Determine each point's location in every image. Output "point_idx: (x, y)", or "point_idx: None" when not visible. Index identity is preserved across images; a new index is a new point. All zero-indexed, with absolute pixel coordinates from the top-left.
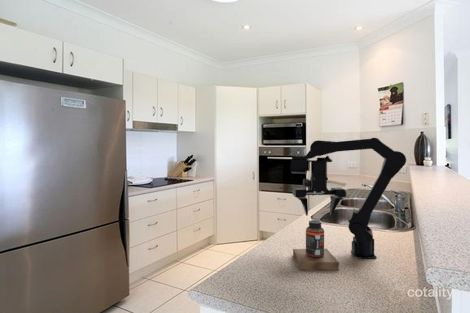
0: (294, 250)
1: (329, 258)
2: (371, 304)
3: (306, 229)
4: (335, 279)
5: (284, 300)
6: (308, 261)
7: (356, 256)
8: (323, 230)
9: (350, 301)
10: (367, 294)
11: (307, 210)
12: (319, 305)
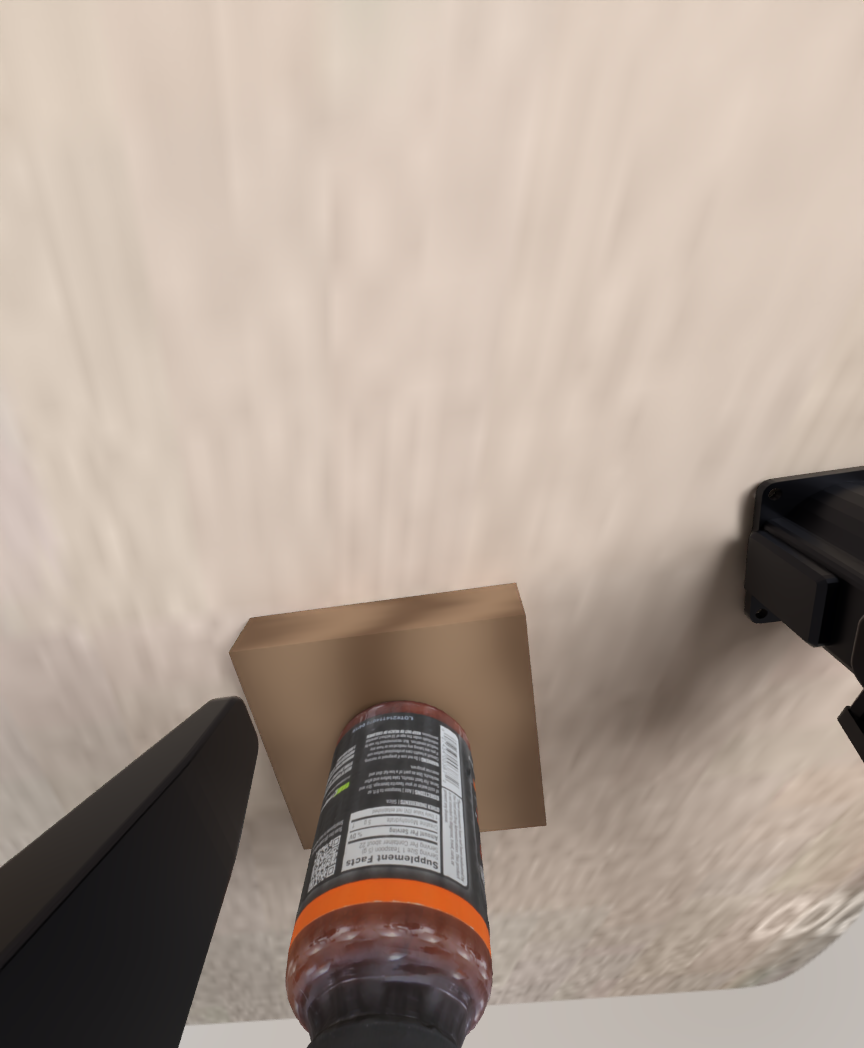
0: (244, 680)
1: (499, 784)
2: (573, 985)
3: (289, 999)
4: (489, 862)
5: (265, 991)
6: None
7: (746, 594)
8: (479, 1017)
9: (503, 978)
10: (588, 942)
11: (204, 928)
12: None
